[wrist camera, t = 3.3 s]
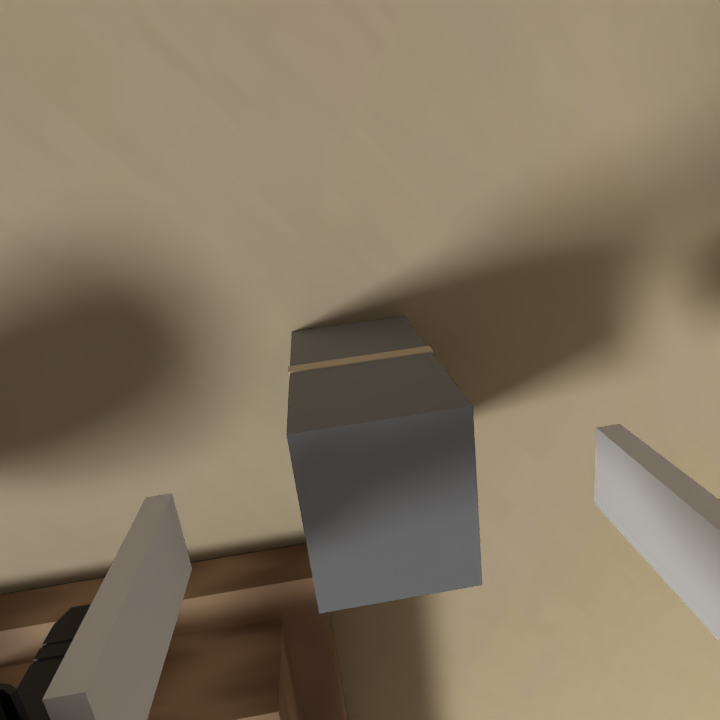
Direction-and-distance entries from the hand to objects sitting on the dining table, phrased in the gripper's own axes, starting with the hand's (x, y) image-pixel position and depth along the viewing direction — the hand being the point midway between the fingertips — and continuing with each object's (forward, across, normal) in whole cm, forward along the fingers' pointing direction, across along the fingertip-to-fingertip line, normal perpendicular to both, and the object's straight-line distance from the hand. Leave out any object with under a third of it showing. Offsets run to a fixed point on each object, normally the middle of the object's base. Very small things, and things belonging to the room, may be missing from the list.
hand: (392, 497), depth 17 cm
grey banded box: (+9, 0, 0) cm, 9 cm away
